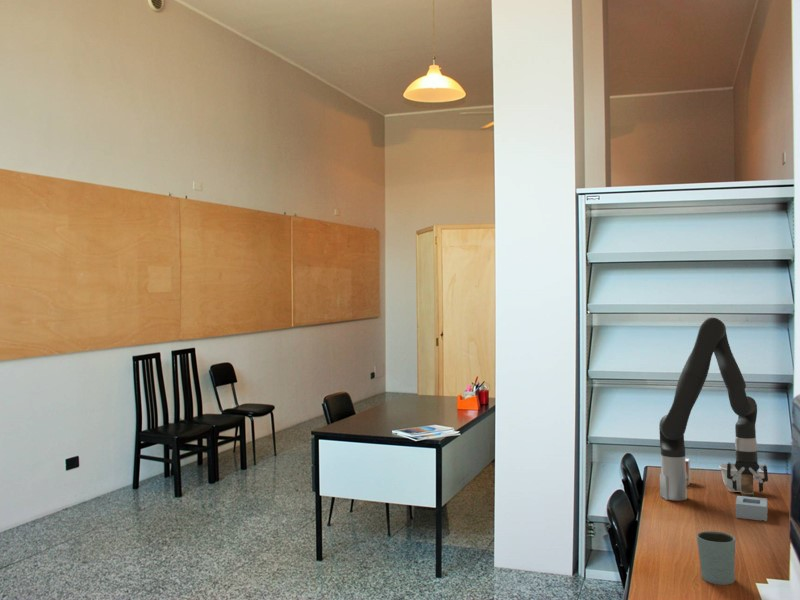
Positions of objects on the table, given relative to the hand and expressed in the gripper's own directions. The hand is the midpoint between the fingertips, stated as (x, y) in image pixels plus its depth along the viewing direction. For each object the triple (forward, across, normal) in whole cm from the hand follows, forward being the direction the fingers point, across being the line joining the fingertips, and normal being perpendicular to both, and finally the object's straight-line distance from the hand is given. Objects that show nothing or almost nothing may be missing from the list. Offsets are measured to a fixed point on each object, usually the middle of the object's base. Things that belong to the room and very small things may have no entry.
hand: (747, 491), depth 267 cm
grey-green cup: (+5, +7, +82) cm, 83 cm away
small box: (+5, +27, -25) cm, 37 cm away
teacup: (+6, +4, -20) cm, 21 cm away
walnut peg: (+5, 0, 0) cm, 5 cm away
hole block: (+5, -1, +13) cm, 14 cm away
